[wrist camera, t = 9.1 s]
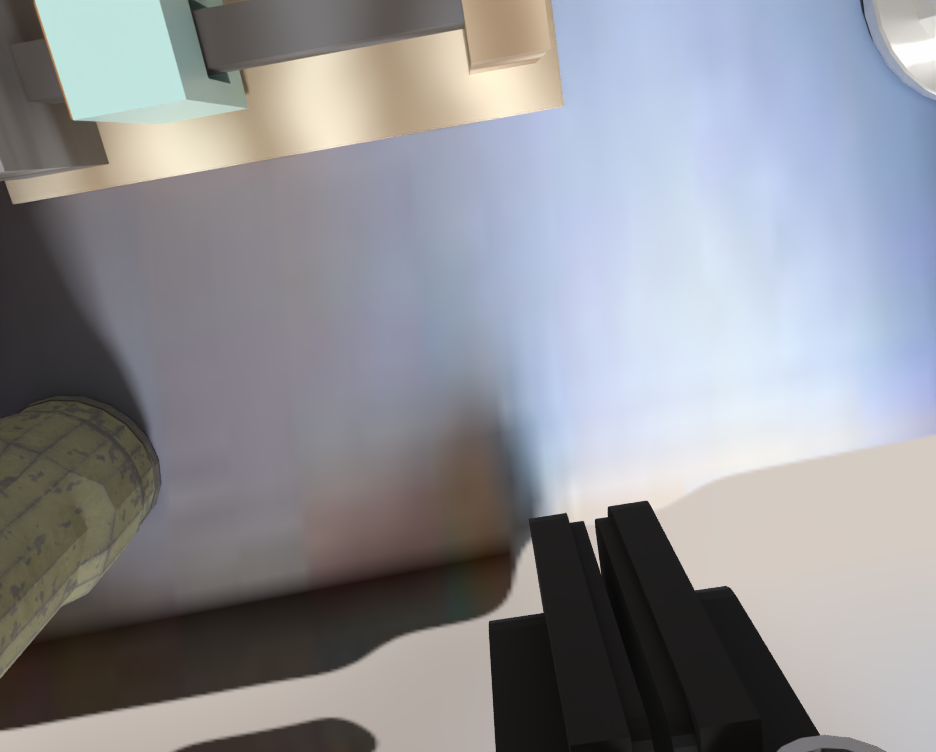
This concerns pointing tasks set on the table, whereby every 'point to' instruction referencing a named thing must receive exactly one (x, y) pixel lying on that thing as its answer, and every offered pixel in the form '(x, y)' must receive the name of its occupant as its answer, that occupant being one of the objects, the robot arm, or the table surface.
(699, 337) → the table surface
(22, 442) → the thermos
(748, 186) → the table surface
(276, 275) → the table surface
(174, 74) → the mint green boxy block
